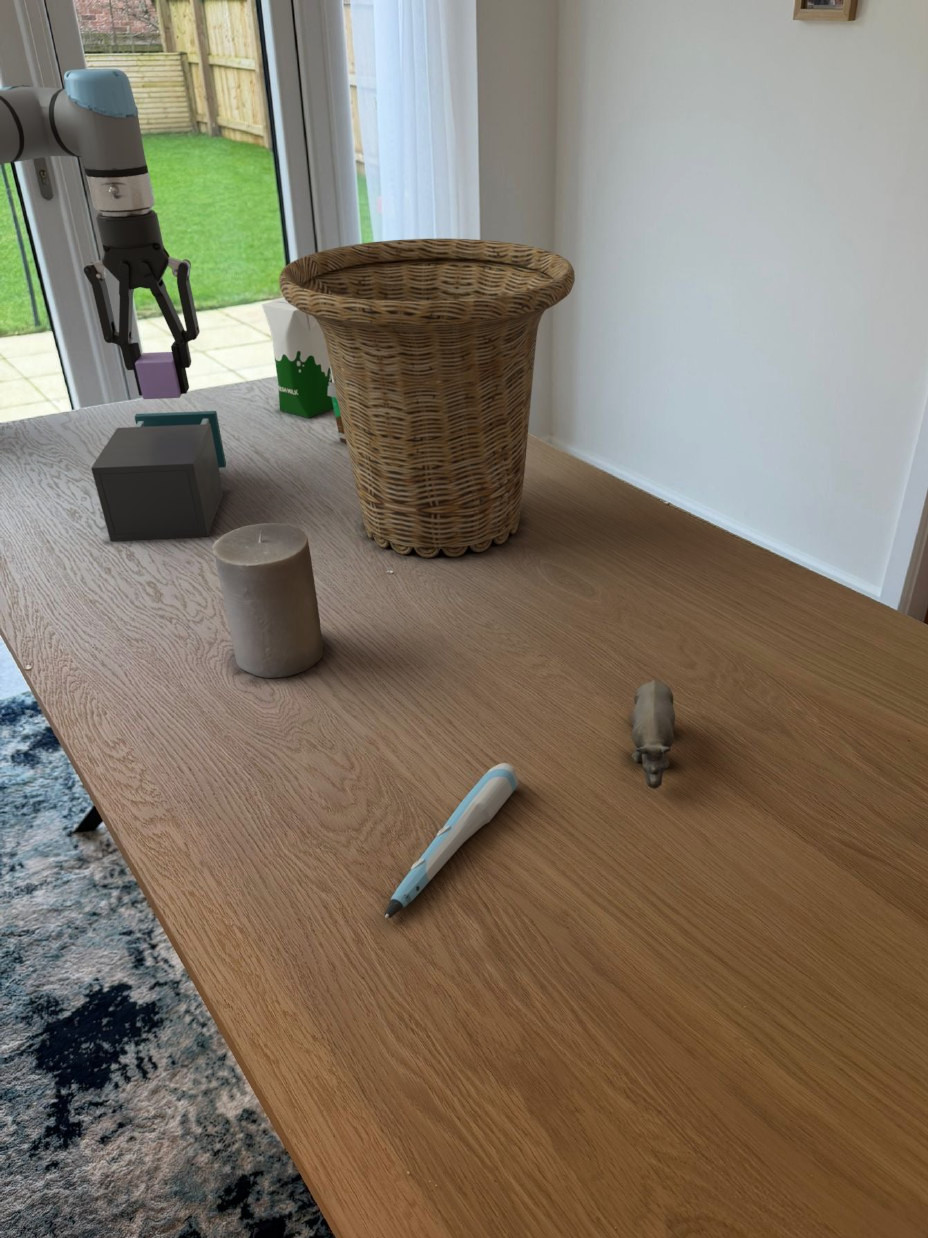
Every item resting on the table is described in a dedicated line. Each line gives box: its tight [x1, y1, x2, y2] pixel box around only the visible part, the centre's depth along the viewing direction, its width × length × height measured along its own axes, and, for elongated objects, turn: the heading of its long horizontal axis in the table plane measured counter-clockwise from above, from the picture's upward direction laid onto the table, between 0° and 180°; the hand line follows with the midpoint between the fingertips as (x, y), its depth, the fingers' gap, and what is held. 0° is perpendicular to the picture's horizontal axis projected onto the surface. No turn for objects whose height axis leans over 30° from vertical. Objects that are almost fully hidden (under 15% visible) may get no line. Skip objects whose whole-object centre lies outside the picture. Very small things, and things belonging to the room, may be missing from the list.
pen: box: [384, 762, 519, 919], centre depth 86 cm, size 19×3×3 cm, turn 153°
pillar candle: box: [212, 522, 325, 679], centre depth 109 cm, size 10×10×15 cm
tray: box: [134, 410, 227, 469], centre depth 150 cm, size 19×12×8 cm, turn 6°
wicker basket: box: [278, 238, 576, 559], centre depth 131 cm, size 35×35×33 cm
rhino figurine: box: [630, 679, 676, 790], centre depth 95 cm, size 4×14×6 cm, turn 174°
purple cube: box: [135, 351, 182, 400], centre depth 143 cm, size 5×5×5 cm
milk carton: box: [261, 297, 334, 419], centre depth 174 cm, size 9×9×20 cm
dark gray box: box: [90, 424, 224, 542], centre depth 140 cm, size 15×13×10 cm
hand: (164, 391), depth 144 cm, fingers closed on purple cube, 5 cm apart
